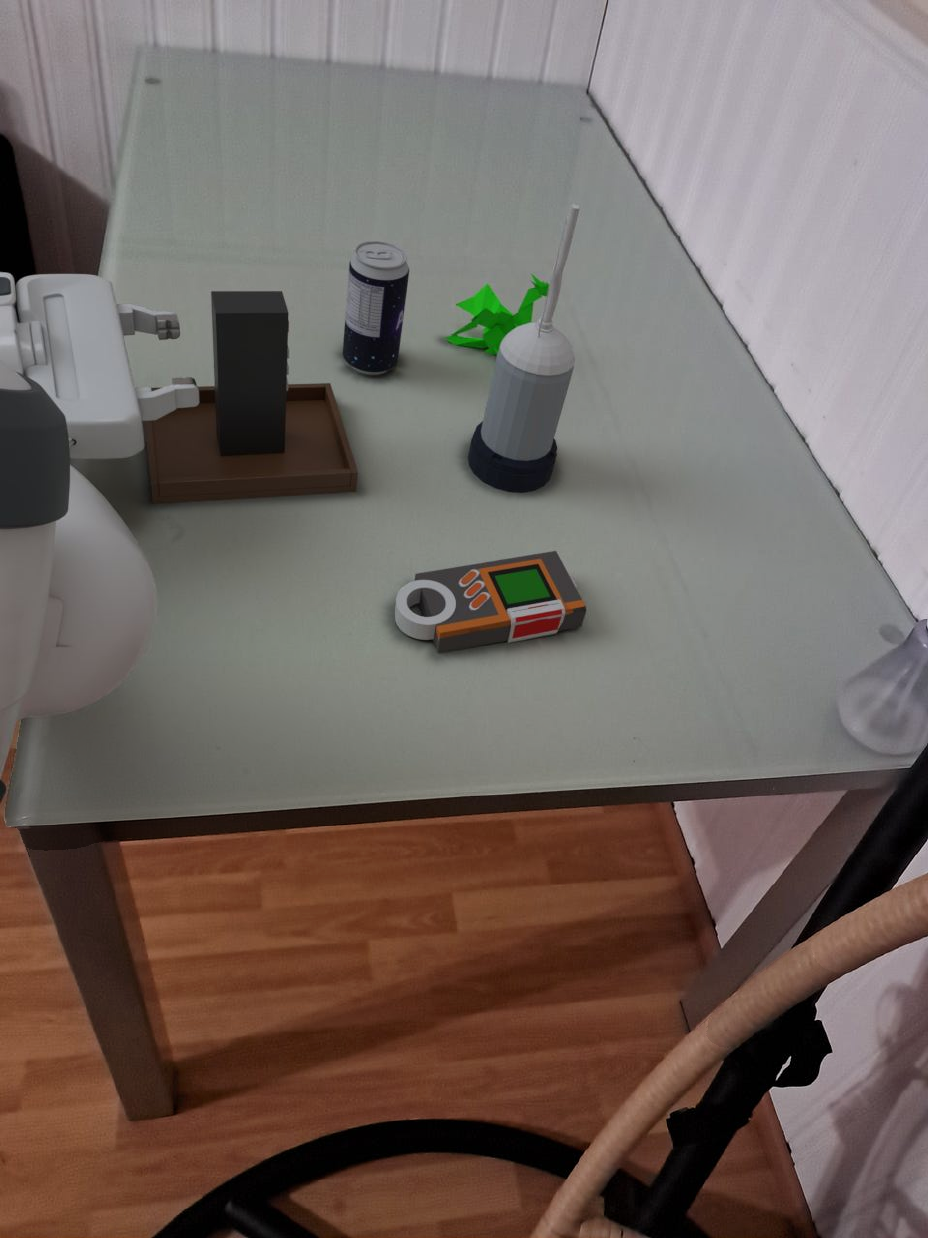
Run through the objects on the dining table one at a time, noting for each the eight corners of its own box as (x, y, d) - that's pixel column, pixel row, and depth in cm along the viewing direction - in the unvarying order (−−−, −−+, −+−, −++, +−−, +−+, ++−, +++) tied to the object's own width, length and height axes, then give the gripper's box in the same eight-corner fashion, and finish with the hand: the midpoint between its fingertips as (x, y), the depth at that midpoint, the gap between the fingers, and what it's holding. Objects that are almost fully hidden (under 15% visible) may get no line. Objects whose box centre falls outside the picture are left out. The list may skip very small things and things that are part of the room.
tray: (152, 504, 79) (150, 483, 78) (143, 408, 87) (140, 387, 86) (356, 492, 84) (358, 472, 83) (329, 402, 92) (330, 382, 91)
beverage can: (399, 381, 97) (413, 271, 88) (343, 378, 96) (352, 266, 87) (394, 349, 100) (407, 241, 92) (340, 346, 99) (348, 236, 90)
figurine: (554, 372, 101) (559, 291, 95) (442, 370, 102) (438, 290, 95) (554, 340, 105) (558, 261, 99) (446, 339, 106) (443, 260, 99)
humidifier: (562, 456, 93) (637, 204, 74) (536, 504, 87) (609, 244, 69) (485, 427, 94) (540, 172, 75) (454, 473, 88) (506, 209, 70)
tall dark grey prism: (216, 433, 85) (210, 290, 75) (281, 430, 87) (285, 290, 77) (220, 456, 83) (215, 312, 73) (287, 452, 85) (291, 312, 75)
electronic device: (386, 575, 75) (560, 546, 79) (384, 600, 77) (554, 571, 81) (410, 640, 71) (593, 606, 75) (408, 664, 73) (585, 630, 77)
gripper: (-2, 416, 64) (209, 401, 68) (-13, 260, 76) (166, 256, 81) (15, 488, 68) (212, 469, 73) (2, 330, 80) (171, 323, 85)
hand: (187, 356), depth 77 cm, fingers open, 8 cm apart
